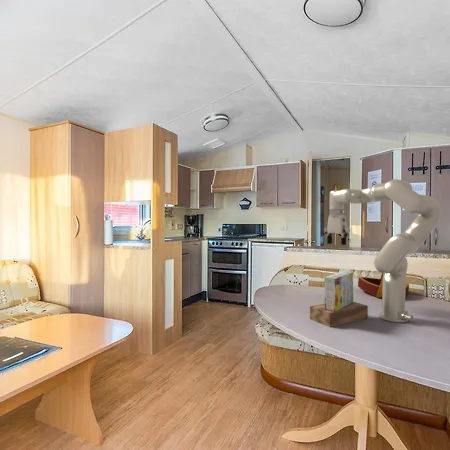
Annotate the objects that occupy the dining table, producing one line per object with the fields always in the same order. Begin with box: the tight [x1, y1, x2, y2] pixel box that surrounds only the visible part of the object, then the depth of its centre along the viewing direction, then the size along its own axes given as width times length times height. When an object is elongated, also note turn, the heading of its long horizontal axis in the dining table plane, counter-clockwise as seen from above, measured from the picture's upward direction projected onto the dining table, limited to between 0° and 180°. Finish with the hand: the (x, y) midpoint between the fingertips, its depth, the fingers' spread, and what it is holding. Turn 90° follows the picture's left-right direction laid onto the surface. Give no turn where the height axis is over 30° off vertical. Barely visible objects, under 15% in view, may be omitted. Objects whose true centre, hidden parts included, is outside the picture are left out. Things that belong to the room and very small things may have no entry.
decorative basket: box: [357, 273, 410, 299], centre depth 196 cm, size 34×29×15 cm
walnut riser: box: [309, 301, 369, 328], centre depth 146 cm, size 12×25×6 cm, turn 118°
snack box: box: [324, 270, 354, 312], centre depth 146 cm, size 21×6×15 cm, turn 137°
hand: (336, 244), depth 170 cm, fingers open, 9 cm apart
